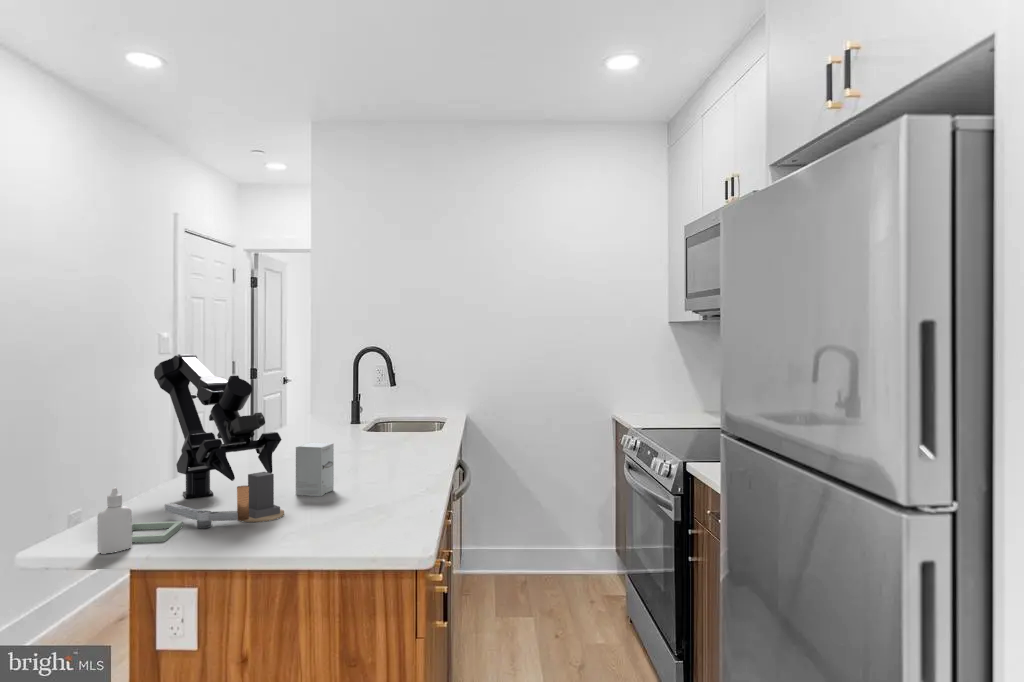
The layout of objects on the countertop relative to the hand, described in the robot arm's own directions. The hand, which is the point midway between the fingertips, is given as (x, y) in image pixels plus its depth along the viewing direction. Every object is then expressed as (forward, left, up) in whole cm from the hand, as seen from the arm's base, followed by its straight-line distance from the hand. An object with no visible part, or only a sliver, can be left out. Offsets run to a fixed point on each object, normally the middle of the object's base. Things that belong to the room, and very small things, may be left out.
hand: (252, 476), depth 155 cm
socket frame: (+6, -22, -9) cm, 24 cm away
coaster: (+4, +1, -9) cm, 9 cm away
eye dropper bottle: (+14, -28, -9) cm, 32 cm away
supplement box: (-12, +18, -9) cm, 24 cm away
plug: (+4, +1, -8) cm, 9 cm away
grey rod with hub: (+2, -10, -8) cm, 13 cm away
